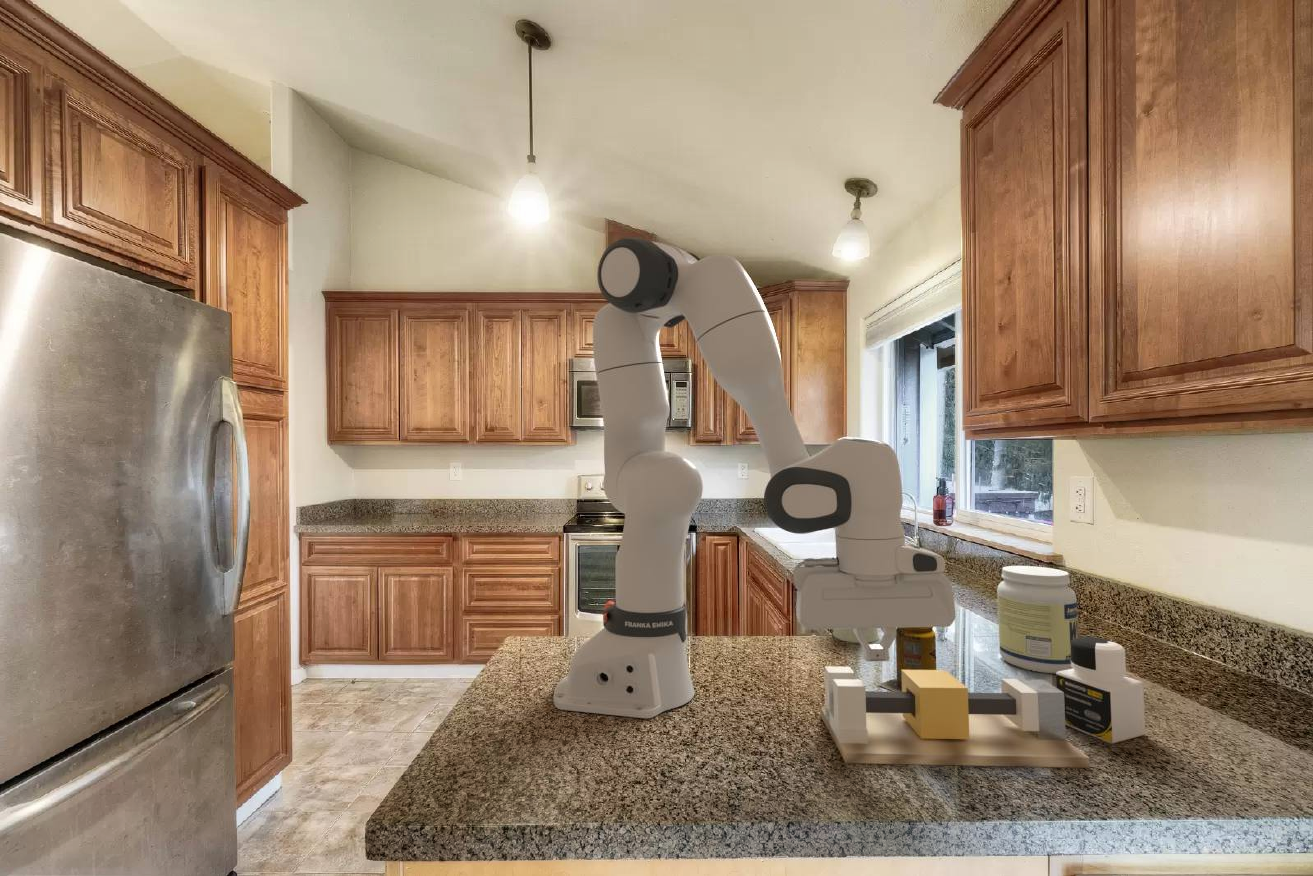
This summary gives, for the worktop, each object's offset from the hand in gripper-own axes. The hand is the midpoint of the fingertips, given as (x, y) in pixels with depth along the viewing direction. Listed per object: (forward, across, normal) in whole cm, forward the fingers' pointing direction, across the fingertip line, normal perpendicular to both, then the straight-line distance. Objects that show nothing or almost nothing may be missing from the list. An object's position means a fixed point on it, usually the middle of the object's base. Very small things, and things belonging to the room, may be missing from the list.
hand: (876, 659), depth 77 cm
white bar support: (+9, -4, 0) cm, 10 cm away
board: (+11, +8, 0) cm, 14 cm away
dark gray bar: (+7, +7, 0) cm, 10 cm away
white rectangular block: (+9, +18, 0) cm, 20 cm away
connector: (+10, +21, 0) cm, 23 cm away
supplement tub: (+12, +38, +31) cm, 50 cm away
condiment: (+11, +11, +18) cm, 24 cm away
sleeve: (+9, +7, 0) cm, 12 cm away
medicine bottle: (+12, +31, +4) cm, 34 cm away
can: (+12, +9, +46) cm, 48 cm away
